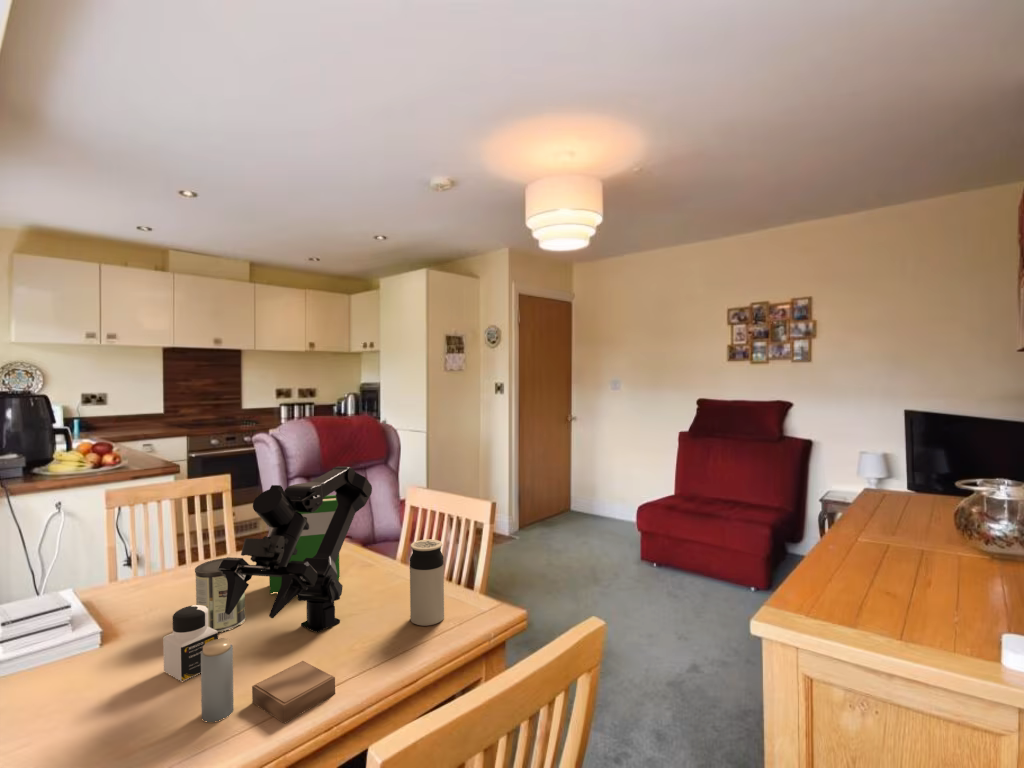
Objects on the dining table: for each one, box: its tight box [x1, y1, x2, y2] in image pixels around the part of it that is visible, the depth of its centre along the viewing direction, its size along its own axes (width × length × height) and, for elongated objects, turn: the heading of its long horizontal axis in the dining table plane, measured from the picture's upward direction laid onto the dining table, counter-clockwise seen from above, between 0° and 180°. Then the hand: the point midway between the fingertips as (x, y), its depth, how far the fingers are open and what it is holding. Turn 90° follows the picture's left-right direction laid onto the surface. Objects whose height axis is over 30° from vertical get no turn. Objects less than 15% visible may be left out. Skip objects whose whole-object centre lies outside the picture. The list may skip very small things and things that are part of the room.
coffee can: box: [194, 557, 247, 633], centre depth 123 cm, size 10×10×14 cm
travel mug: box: [409, 538, 445, 627], centre depth 125 cm, size 8×8×18 cm
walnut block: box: [251, 660, 336, 724], centre depth 94 cm, size 10×10×3 cm
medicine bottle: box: [162, 604, 219, 682], centre depth 104 cm, size 7×7×12 cm
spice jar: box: [200, 637, 235, 723], centre depth 90 cm, size 5×5×12 cm
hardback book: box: [268, 494, 341, 594], centre depth 146 cm, size 18×7×24 cm, turn 107°
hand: (248, 615), depth 98 cm, fingers open, 9 cm apart
